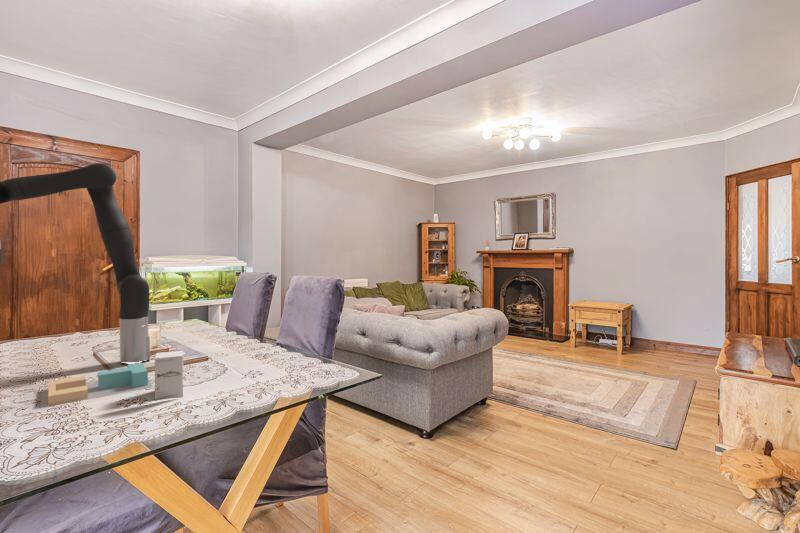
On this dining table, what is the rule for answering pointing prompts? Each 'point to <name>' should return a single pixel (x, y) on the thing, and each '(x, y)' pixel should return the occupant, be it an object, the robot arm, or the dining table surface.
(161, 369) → the supplement box
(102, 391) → the slot board
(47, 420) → the dining table surface
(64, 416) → the dining table surface
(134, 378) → the tee block
